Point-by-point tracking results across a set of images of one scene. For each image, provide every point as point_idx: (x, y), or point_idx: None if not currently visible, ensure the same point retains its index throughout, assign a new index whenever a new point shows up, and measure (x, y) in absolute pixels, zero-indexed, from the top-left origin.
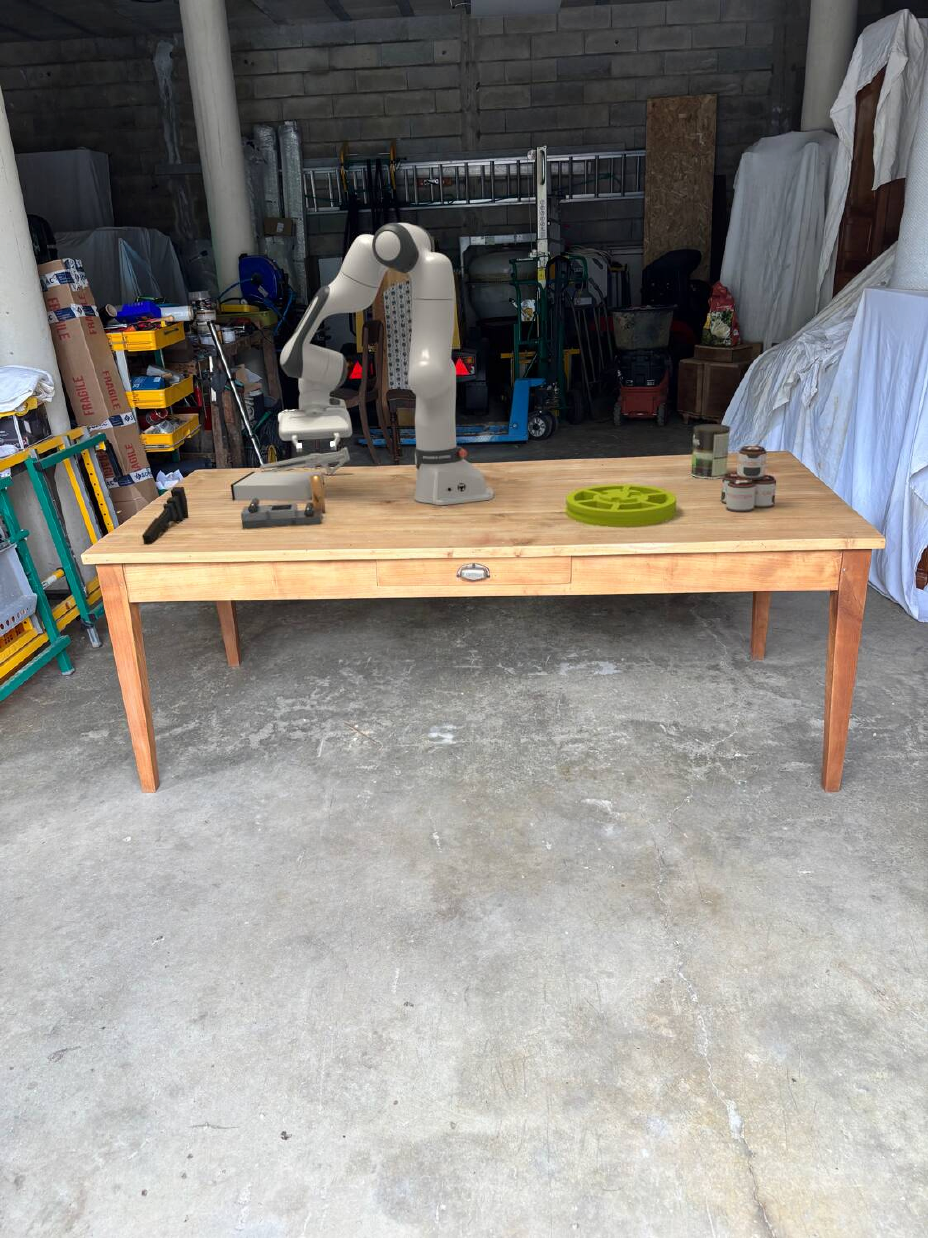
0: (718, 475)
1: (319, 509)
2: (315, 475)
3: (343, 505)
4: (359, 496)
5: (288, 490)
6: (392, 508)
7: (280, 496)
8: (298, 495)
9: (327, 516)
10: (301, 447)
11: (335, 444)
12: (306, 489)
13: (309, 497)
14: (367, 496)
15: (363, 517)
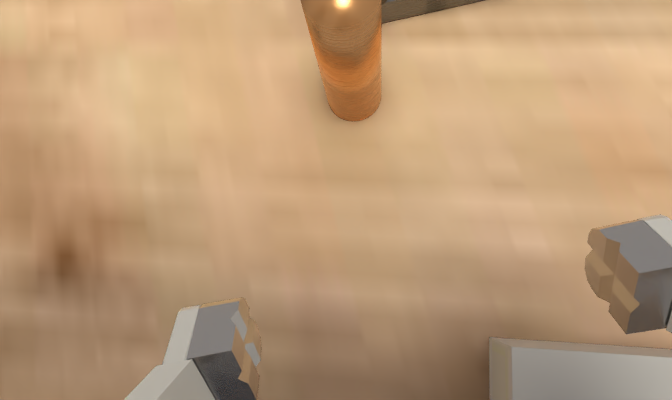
0: None
1: None
2: (346, 3)
3: (268, 213)
4: None
5: (621, 351)
6: (44, 152)
7: (659, 349)
8: (546, 343)
9: (303, 35)
10: (602, 240)
11: (177, 324)
12: (503, 349)
13: (490, 379)
14: None
15: (150, 22)
